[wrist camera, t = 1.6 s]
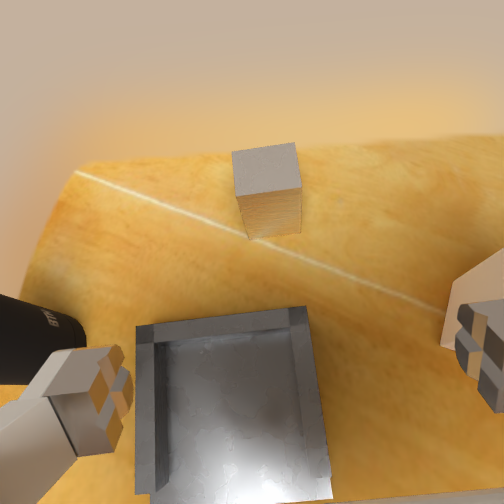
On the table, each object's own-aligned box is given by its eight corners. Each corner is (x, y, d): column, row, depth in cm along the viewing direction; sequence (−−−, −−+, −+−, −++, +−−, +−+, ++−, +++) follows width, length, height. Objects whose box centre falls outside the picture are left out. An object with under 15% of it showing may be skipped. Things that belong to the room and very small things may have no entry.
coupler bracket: (331, 494, 29) (337, 510, 25) (154, 510, 30) (134, 528, 26) (304, 314, 34) (306, 305, 30) (153, 332, 35) (135, 326, 31)
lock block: (300, 233, 37) (302, 187, 28) (249, 239, 37) (235, 196, 29) (294, 195, 38) (294, 140, 30) (245, 202, 38) (231, 150, 30)
